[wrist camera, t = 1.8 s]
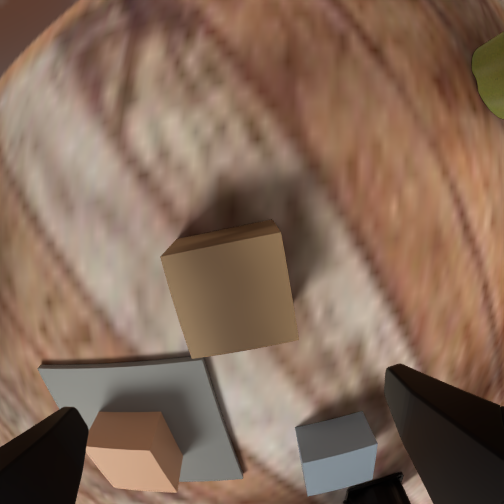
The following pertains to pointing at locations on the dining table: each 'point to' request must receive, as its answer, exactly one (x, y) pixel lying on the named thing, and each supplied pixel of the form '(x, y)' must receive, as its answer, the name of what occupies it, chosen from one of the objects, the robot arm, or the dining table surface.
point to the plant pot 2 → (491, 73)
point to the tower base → (155, 394)
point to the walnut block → (231, 289)
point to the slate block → (336, 453)
